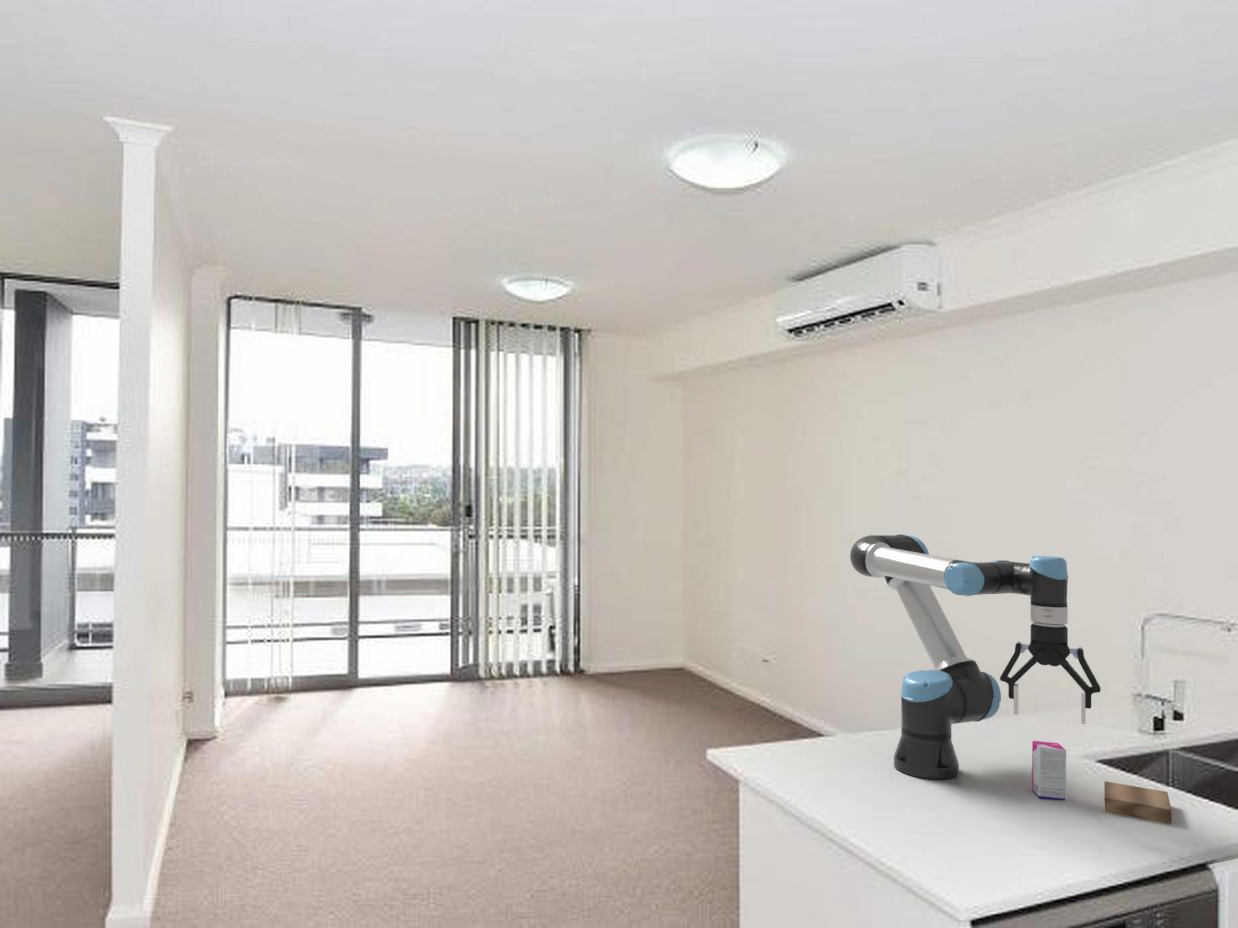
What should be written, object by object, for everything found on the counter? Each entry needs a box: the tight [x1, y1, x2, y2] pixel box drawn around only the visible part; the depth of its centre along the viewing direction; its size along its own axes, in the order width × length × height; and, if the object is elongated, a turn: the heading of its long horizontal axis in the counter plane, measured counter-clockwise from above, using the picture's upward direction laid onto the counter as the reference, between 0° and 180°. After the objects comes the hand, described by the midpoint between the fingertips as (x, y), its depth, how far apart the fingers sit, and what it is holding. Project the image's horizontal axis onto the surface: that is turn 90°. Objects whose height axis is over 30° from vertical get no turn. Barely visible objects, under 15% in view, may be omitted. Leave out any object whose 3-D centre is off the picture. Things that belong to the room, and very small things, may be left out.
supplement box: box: [1030, 740, 1067, 802], centre depth 186 cm, size 6×6×12 cm
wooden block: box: [1103, 780, 1173, 825], centre depth 179 cm, size 12×12×3 cm
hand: (1049, 717), depth 186 cm, fingers open, 13 cm apart
